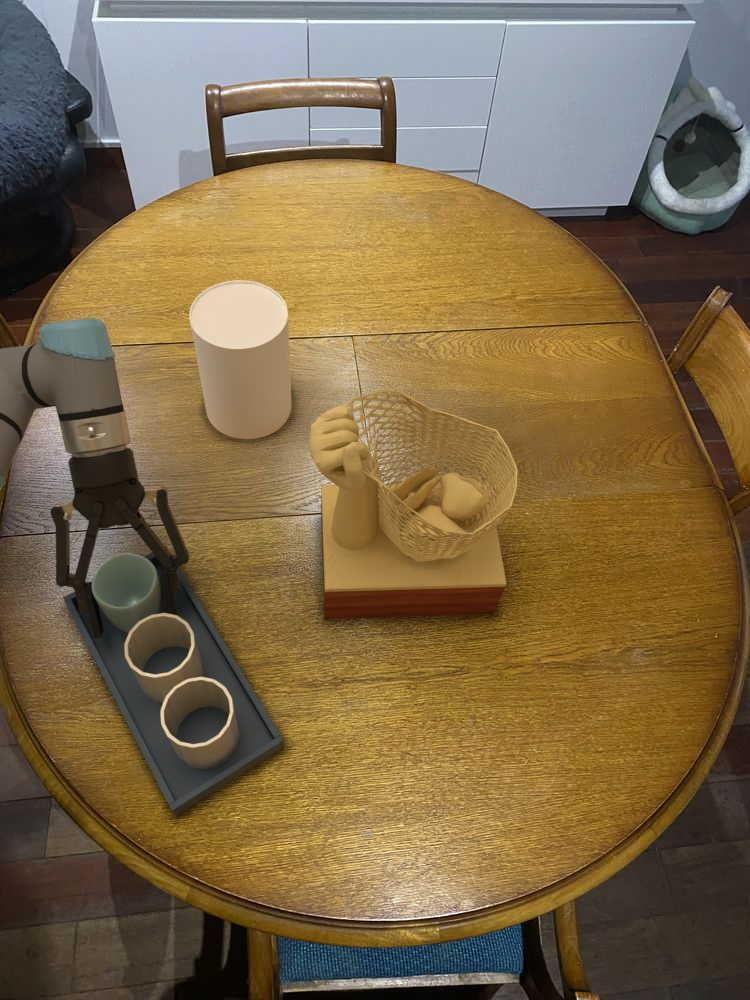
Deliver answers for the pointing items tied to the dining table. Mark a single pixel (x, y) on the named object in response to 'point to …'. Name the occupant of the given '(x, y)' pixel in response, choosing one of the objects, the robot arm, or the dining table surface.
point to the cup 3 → (186, 701)
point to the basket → (409, 515)
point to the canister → (243, 357)
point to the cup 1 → (128, 590)
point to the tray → (198, 726)
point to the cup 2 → (155, 637)
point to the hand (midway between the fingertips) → (136, 626)
